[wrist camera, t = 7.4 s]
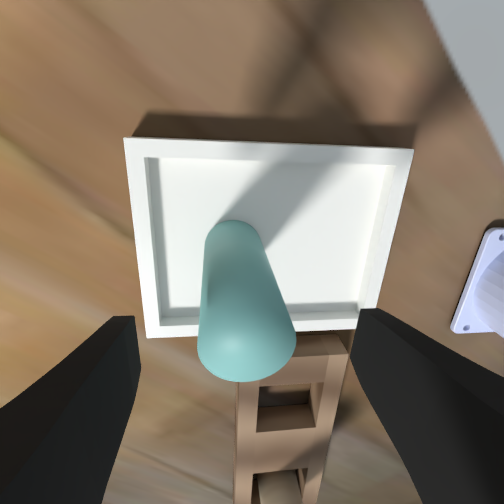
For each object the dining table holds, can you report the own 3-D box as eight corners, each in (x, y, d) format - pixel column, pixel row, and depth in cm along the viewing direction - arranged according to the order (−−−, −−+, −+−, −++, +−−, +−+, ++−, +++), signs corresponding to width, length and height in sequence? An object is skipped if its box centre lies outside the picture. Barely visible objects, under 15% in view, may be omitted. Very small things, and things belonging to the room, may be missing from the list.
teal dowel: (261, 219, 16) (300, 300, 9) (260, 270, 18) (293, 377, 10) (202, 220, 16) (193, 307, 9) (206, 273, 17) (200, 386, 10)
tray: (398, 147, 16) (414, 149, 15) (360, 315, 21) (370, 328, 19) (131, 136, 14) (123, 137, 13) (151, 323, 19) (146, 338, 17)
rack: (237, 338, 20) (240, 360, 18) (336, 334, 21) (348, 354, 19) (232, 497, 27) (234, 524, 25) (307, 489, 28) (313, 514, 26)
